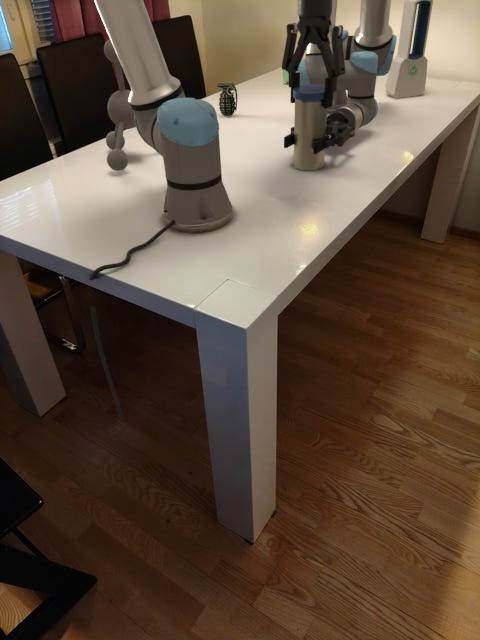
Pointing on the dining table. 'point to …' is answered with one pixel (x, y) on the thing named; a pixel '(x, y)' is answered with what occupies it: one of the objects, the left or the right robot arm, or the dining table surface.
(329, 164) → the dining table surface
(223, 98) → the grenade
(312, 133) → the jar
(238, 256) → the dining table surface
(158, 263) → the dining table surface
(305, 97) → the lid
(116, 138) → the molecular model
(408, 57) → the electronic device
